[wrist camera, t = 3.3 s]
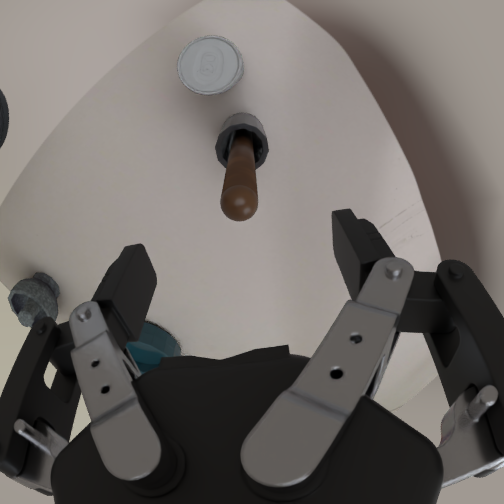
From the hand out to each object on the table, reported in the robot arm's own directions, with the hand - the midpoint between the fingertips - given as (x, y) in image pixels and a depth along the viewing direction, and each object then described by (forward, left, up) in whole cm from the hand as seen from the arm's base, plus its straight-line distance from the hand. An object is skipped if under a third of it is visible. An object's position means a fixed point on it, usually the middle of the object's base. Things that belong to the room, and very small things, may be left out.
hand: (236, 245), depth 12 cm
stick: (0, 0, -23) cm, 23 cm away
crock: (0, 0, -24) cm, 24 cm away
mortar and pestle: (-39, -16, -24) cm, 48 cm away
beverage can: (-1, +8, -24) cm, 25 cm away
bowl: (-26, -33, -24) cm, 48 cm away
